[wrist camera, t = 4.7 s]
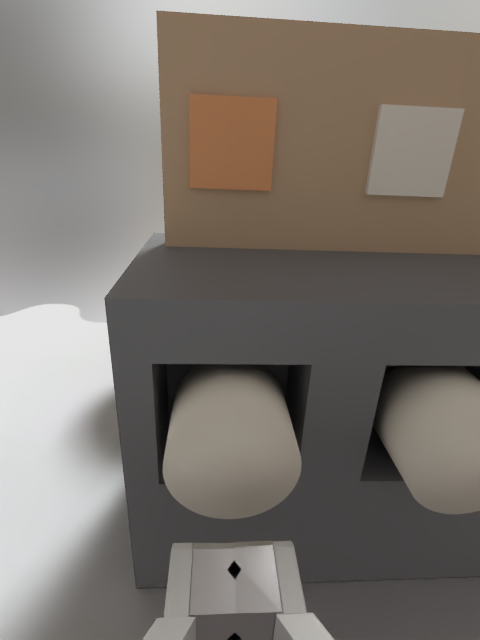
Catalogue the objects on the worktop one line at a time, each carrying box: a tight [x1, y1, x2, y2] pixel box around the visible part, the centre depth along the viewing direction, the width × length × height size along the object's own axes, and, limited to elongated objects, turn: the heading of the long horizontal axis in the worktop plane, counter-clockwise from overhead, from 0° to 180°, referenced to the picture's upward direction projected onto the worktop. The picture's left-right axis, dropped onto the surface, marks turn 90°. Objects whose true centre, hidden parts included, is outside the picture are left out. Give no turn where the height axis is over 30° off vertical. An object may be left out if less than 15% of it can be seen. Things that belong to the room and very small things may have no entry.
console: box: [105, 11, 480, 588], centre depth 18 cm, size 24×10×23 cm, turn 93°
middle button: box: [373, 365, 480, 514], centre depth 14 cm, size 4×4×4 cm
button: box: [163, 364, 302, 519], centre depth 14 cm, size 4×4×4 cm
